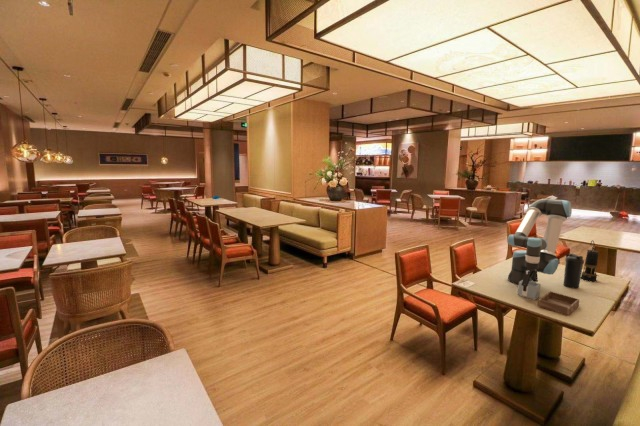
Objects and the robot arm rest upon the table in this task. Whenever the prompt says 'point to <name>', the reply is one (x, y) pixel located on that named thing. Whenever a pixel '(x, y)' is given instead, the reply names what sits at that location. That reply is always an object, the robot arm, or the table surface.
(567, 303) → the walnut crate
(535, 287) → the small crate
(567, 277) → the water bottle
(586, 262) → the lantern
